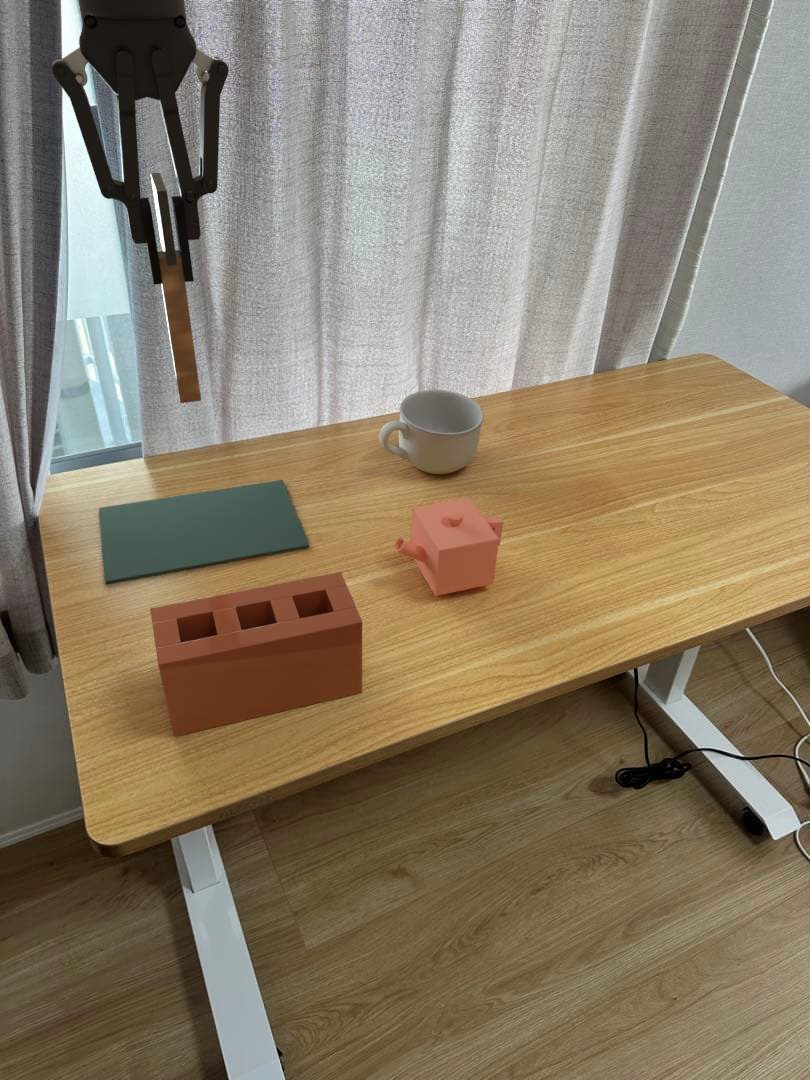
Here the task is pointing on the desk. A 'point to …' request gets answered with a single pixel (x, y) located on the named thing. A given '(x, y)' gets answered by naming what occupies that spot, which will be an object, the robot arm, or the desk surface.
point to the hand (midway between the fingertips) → (172, 277)
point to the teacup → (436, 431)
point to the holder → (258, 651)
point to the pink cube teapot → (453, 545)
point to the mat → (198, 530)
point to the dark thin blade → (175, 300)
